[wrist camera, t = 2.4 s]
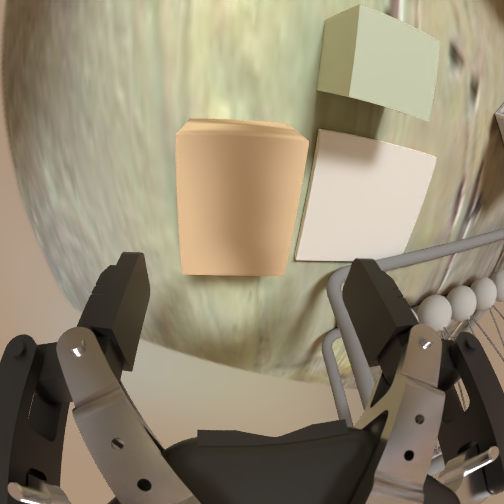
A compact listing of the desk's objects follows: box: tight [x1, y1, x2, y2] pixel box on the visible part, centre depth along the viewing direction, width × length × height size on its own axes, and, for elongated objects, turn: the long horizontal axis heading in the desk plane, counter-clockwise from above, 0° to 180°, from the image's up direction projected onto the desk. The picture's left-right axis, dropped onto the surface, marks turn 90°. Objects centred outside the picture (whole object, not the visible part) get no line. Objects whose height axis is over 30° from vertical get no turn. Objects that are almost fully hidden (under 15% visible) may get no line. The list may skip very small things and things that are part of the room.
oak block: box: [176, 119, 309, 276], centre depth 16 cm, size 6×8×5 cm
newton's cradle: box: [321, 229, 504, 476], centre depth 18 cm, size 30×10×18 cm, turn 99°
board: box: [294, 129, 437, 261], centre depth 19 cm, size 10×10×1 cm
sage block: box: [317, 5, 440, 122], centre depth 11 cm, size 5×5×5 cm
